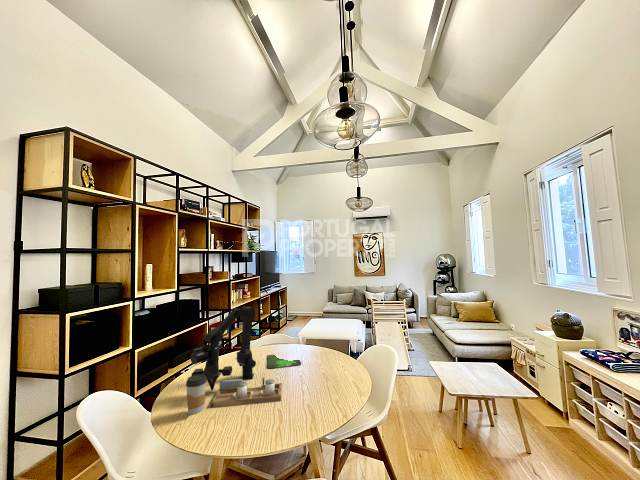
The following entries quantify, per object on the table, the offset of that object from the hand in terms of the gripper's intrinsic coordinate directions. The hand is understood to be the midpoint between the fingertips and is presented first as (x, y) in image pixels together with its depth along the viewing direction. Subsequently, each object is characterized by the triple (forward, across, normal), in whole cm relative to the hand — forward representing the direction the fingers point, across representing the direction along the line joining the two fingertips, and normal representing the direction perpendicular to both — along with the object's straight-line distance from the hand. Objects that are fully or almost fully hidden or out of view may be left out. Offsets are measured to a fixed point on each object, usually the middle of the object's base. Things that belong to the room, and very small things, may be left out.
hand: (212, 389), depth 132 cm
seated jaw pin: (+1, +16, -10) cm, 19 cm away
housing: (+2, +19, -8) cm, 21 cm away
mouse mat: (+3, +35, +41) cm, 54 cm away
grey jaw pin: (+1, +29, -10) cm, 31 cm away
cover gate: (+1, +9, 0) cm, 9 cm away
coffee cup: (+2, -2, -17) cm, 17 cm away
